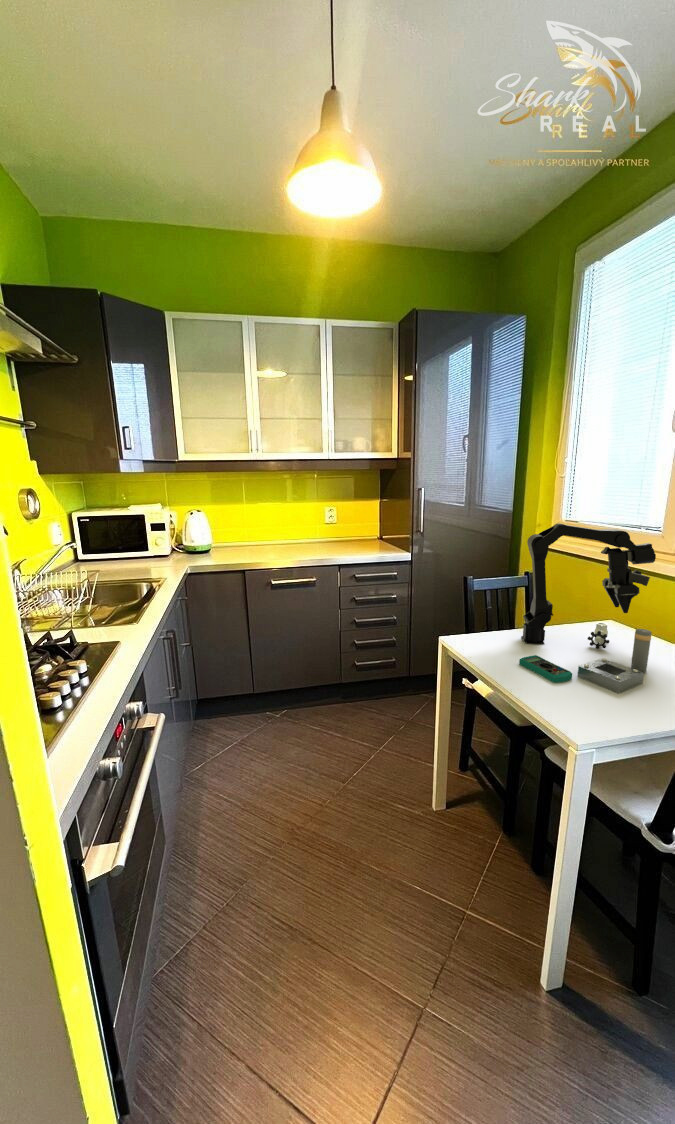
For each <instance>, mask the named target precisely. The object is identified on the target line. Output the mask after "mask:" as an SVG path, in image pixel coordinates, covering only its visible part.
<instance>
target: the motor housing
mask: <svg viewBox="0 0 675 1124" xmlns="http://www.w3.org/2000/svg"><path fill="white" fill-rule="evenodd" d="M644 675H645V673H643V672H641V671H638V670H637V669H632V668H631V667H629V666H626V665H625V664H624V665H623V664H620V663H617V662H615V661H612V660H609V659H607V658H605V657H601V658H599V659H595V660H592V661H590V662H586V663H583V664H580V665H578V669H577V678H579V679H582V680H585V681H588V682H590V683H592V684H595V685H597V686H599V687H602V688H604V689H606V690H608V691H612V692H614V693H616V694H621V693H625V692H626V691H627V692H628V691H629V690H631V689H634V688H636V687H638V686H640V685H643V681H644V677H645V676H644Z"/></svg>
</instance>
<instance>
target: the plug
mask: <svg viewBox="0 0 675 1124" xmlns="http://www.w3.org/2000/svg"><path fill="white" fill-rule="evenodd" d="M651 641H652V631H651V630H648V629H645V628H635V631H634V640H633V648H632V654H631V662H630V668H632V669H637V670H638V671H641V672H643V673H644V674H646V673H647V668H648V661H649V656H650V646H651Z"/></svg>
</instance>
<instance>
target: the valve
mask: <svg viewBox="0 0 675 1124" xmlns="http://www.w3.org/2000/svg"><path fill="white" fill-rule="evenodd" d="M595 625H596V626H595V629H594V631H591V632H590V635H591V636H587V640H588V641H591V642H589V645H590V646H591V647H592V646H595V649H597V650H599V649H600V647H602V648H603V649H606V648H607V645H606V644H610V639H607V638H608V634H609V633H608V623H606V622H601V621H600V622H599V621H598V622H596V624H595ZM596 642H597V643H596Z"/></svg>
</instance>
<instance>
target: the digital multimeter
mask: <svg viewBox="0 0 675 1124" xmlns="http://www.w3.org/2000/svg"><path fill="white" fill-rule="evenodd" d="M518 661H519V664H518V665H520V666H521V667H522V668H523V667H524V668H525V669H528V670H529V671H531V672H533V673H535V674H537V675H539V676H540V675H541V676H540V677H542V676H543V678H545V680H548V681H550V682H551V683H554V684H558V683H565V682H568V681H571V680H573V679H572V678H573V672H571V671H570V670H568V669H565V668H563V667H562V666H559V665H557V664H555V663H554V662H552V661H548V660H546V659H545V658H543V657H541V656H539V655H537V654H533V655H528V656H524V657H521V658H519V660H518Z"/></svg>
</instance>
